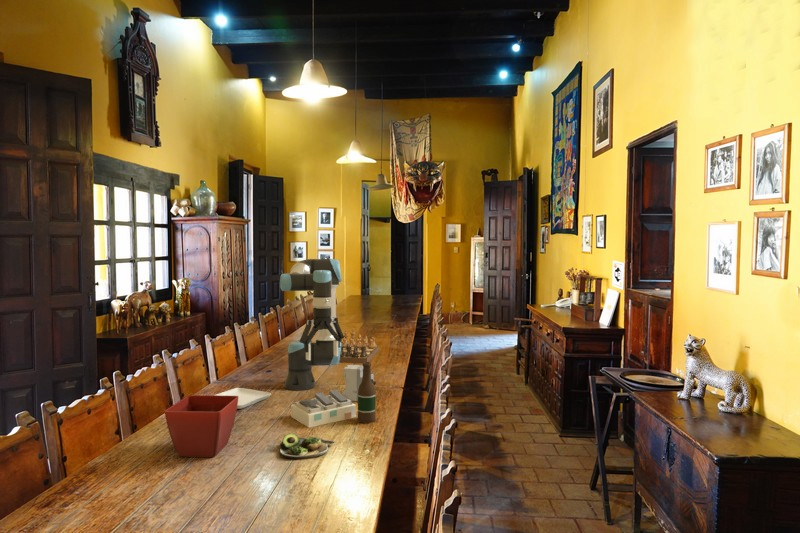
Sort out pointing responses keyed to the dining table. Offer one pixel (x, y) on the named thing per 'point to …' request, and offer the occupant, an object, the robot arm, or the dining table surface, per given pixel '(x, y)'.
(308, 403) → the rocker
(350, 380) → the circuit breaker
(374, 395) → the beer bottle
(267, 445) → the dining table surface
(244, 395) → the salad plate
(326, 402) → the block
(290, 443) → the salad plate
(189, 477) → the dining table surface
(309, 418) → the console
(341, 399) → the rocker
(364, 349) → the chess set
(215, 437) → the plant pot
